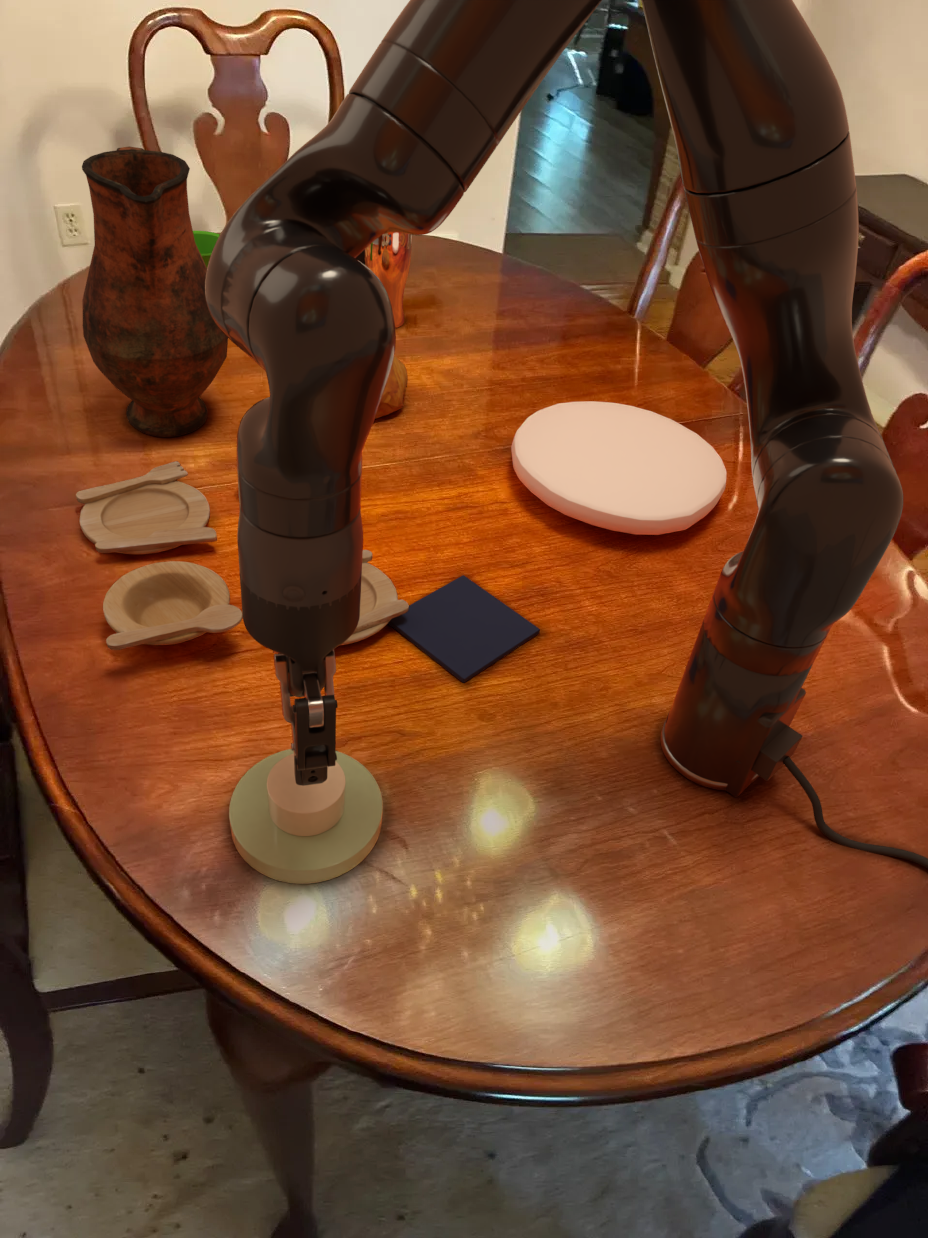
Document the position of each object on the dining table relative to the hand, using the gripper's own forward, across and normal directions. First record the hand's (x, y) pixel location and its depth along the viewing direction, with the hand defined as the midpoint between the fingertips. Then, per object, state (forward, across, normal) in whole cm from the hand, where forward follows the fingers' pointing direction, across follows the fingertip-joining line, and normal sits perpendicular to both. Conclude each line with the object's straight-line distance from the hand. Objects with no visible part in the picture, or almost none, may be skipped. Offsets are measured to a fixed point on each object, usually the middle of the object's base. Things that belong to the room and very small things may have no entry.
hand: (302, 734), depth 68 cm
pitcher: (+10, +66, +9) cm, 68 cm away
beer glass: (+10, +90, -24) cm, 94 cm away
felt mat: (+10, +20, -19) cm, 29 cm away
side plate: (+10, 0, 0) cm, 10 cm away
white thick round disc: (+10, +43, -44) cm, 63 cm away
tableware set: (+10, +33, +3) cm, 34 cm away
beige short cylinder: (+8, 0, 0) cm, 8 cm away
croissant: (+10, +66, -15) cm, 69 cm away
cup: (+10, +93, +3) cm, 94 cm away
